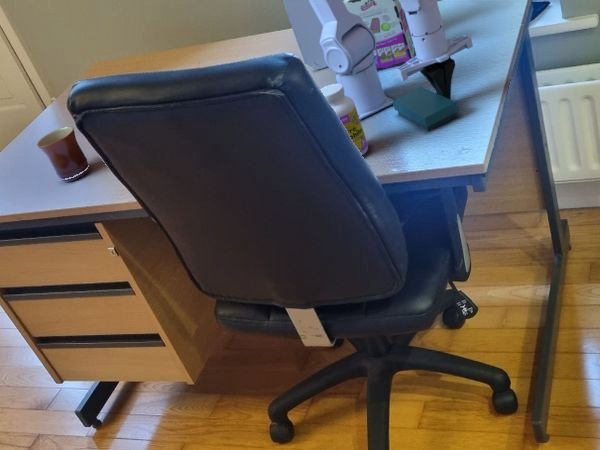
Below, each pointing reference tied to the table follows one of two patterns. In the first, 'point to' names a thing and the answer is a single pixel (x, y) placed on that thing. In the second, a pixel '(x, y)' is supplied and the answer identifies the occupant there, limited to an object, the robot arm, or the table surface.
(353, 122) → the supplement bottle
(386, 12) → the candy bar box
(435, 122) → the teal flat panel
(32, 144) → the table surface
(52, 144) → the mug
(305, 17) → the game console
